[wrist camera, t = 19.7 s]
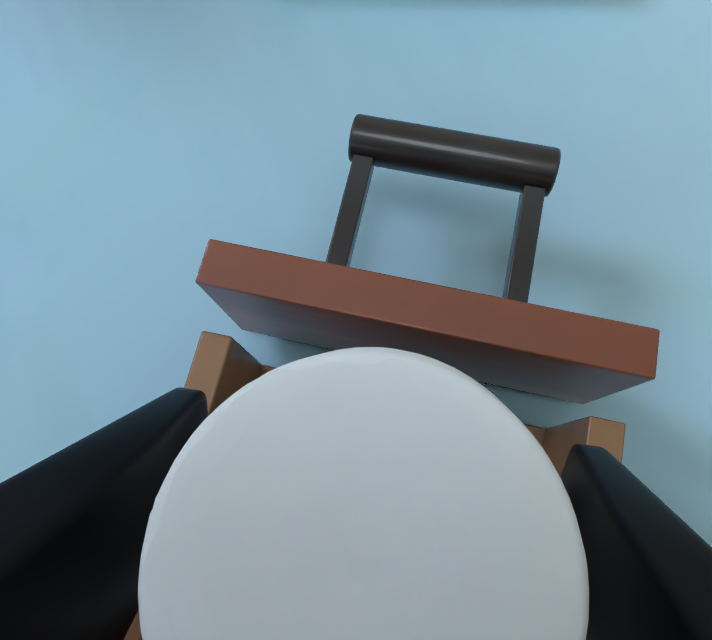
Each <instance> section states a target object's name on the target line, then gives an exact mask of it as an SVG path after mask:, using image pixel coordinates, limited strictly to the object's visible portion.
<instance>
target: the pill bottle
mask: <svg viewBox="0 0 712 640" xmlns="http://www.w3.org/2000/svg"><path fill="white" fill-rule="evenodd" d="M138 604H139V618H140V630H141V635H142V640H586V635H587V628H588V620H589V582H588V568H587V561H586V555H585V550H584V546H583V542H582V538H581V534H580V530H579V526H578V522H577V518H576V515H575V512H574V509H573V506H572V504H571V501H570V498H569V496H568V494H567V491H566V489H565V487H564V485H563V482H562V480H561V478H560V476H559V474H558V473H557V471H556V469H555V467H554V465H553V464H552V462H551V460H550V458H549V457H548V455H547V454H546V452H545V451H544V449H543V448H542V446H541V445H540V444H539V442H538V441H537V440H536V438H535V437H534V436H533V435H532V433H531V432H530V431H529V430H528V429H527V427H526V426H525V425H524V424H523V423H522V422H521V421H520V419H519V418H517V417H516V416H515V415H514V414H513V413H512V412H511V411H510V410H509V409H508V408H507V407H506V406H505V405H504V404H503V403H502V402H501V401H500V400H499V399H498V398H497V397H496V396H495V395H494V394H493V393H491V392H490V391H489V390H488V389H486V388H485V387H484V386H482V385H481V384H480V383H478V382H477V381H475V380H474V379H473V378H471V377H470V376H468V375H466V374H464V373H463V372H461V371H459V370H458V369H456V368H454V367H452V366H450V365H447V364H445V363H443V362H441V361H438V360H436V359H433V358H430V357H427V356H424V355H421V354H418V353H413V352H408V351H403V350H399V349H393V348H384V347H354V348H347V349H339V350H334V351H330V352H326V353H322V354H318V355H314V356H310V357H307V358H303V359H299V360H296V361H293V362H291V363H288V364H285V365H282V366H280V367H278V368H276V369H274V370H271V371H269V372H267V373H265V374H264V375H262V376H261V377H259V378H257V379H255V380H254V381H252V382H250V383H248V384H246V385H245V386H243V387H242V388H241V389H239V390H238V391H237V392H235V393H234V394H233V395H232V396H230V397H229V398H228V399H227V400H225V401H224V402H223V403H222V404H221V405H220V406H218V407H217V408H216V409H215V410H214V411H213V412H212V413H211V414H210V415H209V416H208V417H207V418H206V419H205V420H204V421H203V422H202V423H201V424H200V426H199V427H198V428H197V429H196V430H195V431H194V433H193V434H192V435H191V437H190V438H189V439H188V441H187V442H186V444H185V445H184V447H183V448H182V450H181V451H180V453H179V454H178V456H177V457H176V459H175V460H174V462H173V464H172V466H171V468H170V470H169V472H168V474H167V476H166V477H165V479H164V482H163V484H162V486H161V488H160V490H159V493H158V494H157V496H156V498H155V502H154V506H153V509H152V511H151V513H150V516H149V520H148V524H147V529H146V533H145V538H144V543H143V547H142V553H141V558H140V569H139V580H138Z"/></svg>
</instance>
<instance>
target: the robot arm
mask: <svg viewBox="0 0 712 640" xmlns="http://www.w3.org/2000/svg"><path fill="white" fill-rule="evenodd" d="M207 417H208V408H207V398H206V395H205V393H204V392H203V391H201V390H195V389H188V388H176V389H174V390H172V391H170V392H168V393H166V394H164V395H162V396H161V397H159V398H157V399H155V400H153V401H151V402H149V403H148V404H146V405H144V406H142V407H140V408H138V409H137V410H135V411H133V412H131V413H129V414H127V415H125V416H124V417H122V418H120V419H118V420H116V421H114V422H113V423H111V424H109V425H107V426H105V427H103V428H101V429H100V430H98V431H96V432H94V433H92V434H90V435H89V436H87V437H85V438H83V439H81V440H79V441H78V442H76V443H74V444H72V445H70V446H68V447H66V448H65V449H63V450H61V451H59V452H57V453H55V454H54V455H52V456H50V457H48V458H46V459H44V460H42V461H41V462H39V463H37V464H35V465H33V466H31V467H30V468H28V469H26V470H24V471H22V472H20V473H18V474H17V475H15V476H13V477H11V478H9V479H7V480H6V481H4V482H2V483H0V640H124V638H125V636H126V634H127V632H128V630H129V628H130V626H131V624H132V622H133V620H134V618H135V616H136V614H137V612H138V610H139V604H138V580H139V569H140V558H141V553H142V547H143V543H144V538H145V533H146V529H147V524H148V520H149V516H150V513H151V511H152V509H153V506H154V502H155V498H156V496H157V494H158V493H159V490H160V488H161V486H162V484H163V482H164V479H165V477H166V476H167V474H168V472H169V470H170V468H171V466H172V464H173V462H174V460H175V459H176V457H177V456H178V454H179V453H180V451H181V450H182V448H183V447H184V445H185V444H186V442H187V441H188V439H189V438H190V437H191V435H192V434H193V433H194V431H195V430H196V429H197V428H198V427H199V426H200V424H201V423H202V422H203V421H204V420H205V419H206V418H207ZM560 478H561V480H562V482H563V485H564V487H565V489H566V491H567V494H568V496H569V498H570V501H571V504H572V506H573V509H574V512H575V515H576V518H577V522H578V526H579V530H580V534H581V538H582V542H583V546H584V550H585V555H586V561H587V568H588V582H589V620H588V628H587V635H586V640H712V547H711V546H710V545H708V544H707V543H706V542H705V541H704V540H703V539H702V538H701V537H700V536H699V535H698V534H697V533H696V532H694V531H693V530H692V529H691V528H690V527H689V526H688V525H687V524H686V523H685V522H684V521H683V520H682V519H681V518H679V517H678V516H677V515H676V514H675V513H674V512H673V511H672V510H671V509H670V508H669V507H668V506H667V505H665V504H664V503H663V502H662V501H661V500H660V499H659V498H658V497H657V496H656V495H655V494H654V493H653V492H652V491H650V490H649V489H648V488H647V487H646V486H645V485H644V484H643V483H642V482H641V481H640V480H639V479H638V478H636V477H635V476H634V475H633V474H632V473H631V472H630V471H629V470H628V469H627V468H626V467H625V466H624V465H623V464H621V463H620V462H619V461H618V460H617V459H616V458H615V457H614V456H613V455H612V454H611V453H610V452H609V451H607V450H606V449H605V448H603V447H599V446H592V445H585V444H575V445H573V446H572V448H571V449H570V451H569V453H568V456H567V459H566V462H565V465H564V468H563V471H562V474H561V477H560Z"/></svg>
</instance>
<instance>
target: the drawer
mask: <svg viewBox="0 0 712 640" xmlns="http://www.w3.org/2000/svg"><path fill="white" fill-rule="evenodd" d="M348 156H349V160H350V161H351V162H352V164H351V168H350V172H349V175H348V179H347V183H346V187H345V190H344V194H343V198H342V202H341V206H340V209H339V213H338V217H337V221H336V225H335V228H334V232H333V236H332V240H331V243H330V247H329V251H328V255H327V259H326V262H322V261H317V260H312V259H307V258H302V257H297V256H292V255H287V254H282V253H277V252H272V251H267V250H262V249H257V248H252V247H247V246H242V245H237V244H232V243H227V242H222V241H217V240H213V239H210V240H209V241H208V244H207V247H206V250H205V253H204V257H203V260H202V263H201V266H200V269H199V272H198V275H197V278H196V283H197V284H198V285H199V286H200V287H201V288H202V289H203V290H204V291H205V292H206V293H207V294H208V295H209V296H210V297H211V298H212V299H213V300H214V301H215V302H216V303H217V304H218V305H219V306H220V308H221V309H222V310H223V311H224V312H225V313H226V314H227V315H228V316H229V317H230V318H231V319H232V320H233V321H234V322H235V323H236V324H237V325H238V326H239V327H240V328H241V329H242V330H247V331H251V332H256V333H261V334H265V335H270V336H274V337H279V338H283V339H288V340H293V341H297V342H302V343H306V344H311V345H315V346H320V347H325V348H329V349H334V350H339V349H347V348H354V347H384V348H393V349H399V350H403V351H408V352H413V353H418V354H421V355H424V356H427V357H430V358H433V359H436V360H438V361H441V362H443V363H445V364H447V365H450V366H452V367H454V368H456V369H458V370H459V371H461V372H463V373H464V374H466V375H468V376H470V377H471V378H473V379H474V380H475V381H480V382H484V383H489V384H494V385H498V386H503V387H507V388H512V389H516V390H521V391H525V392H530V393H535V394H539V395H544V396H548V397H553V398H557V399H562V400H567V401H571V402H576V403H580V404H585V403H588V402H590V401H593V400H596V399H599V398H602V397H605V396H608V395H610V394H613V393H616V392H619V391H622V390H625V389H628V388H630V387H633V386H636V385H639V384H642V383H645V382H648V381H650V380H653V379H655V376H656V365H657V354H658V343H659V332H660V331H659V330H658V329H654V328H649V327H644V326H639V325H634V324H629V323H624V322H619V321H614V320H609V319H604V318H599V317H594V316H589V315H584V314H579V313H574V312H569V311H564V310H559V309H554V308H549V307H545V306H540V305H535V304H530V303H527V302H528V296H529V289H530V283H531V277H532V270H533V264H534V258H535V251H536V245H537V239H538V233H539V226H540V220H541V214H542V207H543V201H544V197H546V196H548V195H549V193H550V192H551V190H552V188H553V185H554V183H555V180H556V177H557V173H558V169H559V164H560V157H561V153H560V149H559V148H555V147H549V146H543V145H538V144H532V143H526V142H520V141H514V140H508V139H503V138H497V137H491V136H485V135H479V134H473V133H467V132H462V131H456V130H450V129H444V128H438V127H432V126H426V125H421V124H415V123H409V122H403V121H397V120H391V119H385V118H380V117H374V116H368V115H362V114H357V115H356V117H355V119H354V121H353V124H352V128H351V133H350V139H349V148H348ZM374 166H376V167H382V168H387V169H393V170H398V171H404V172H410V173H415V174H421V175H426V176H432V177H437V178H443V179H448V180H454V181H459V182H465V183H470V184H476V185H481V186H487V187H493V188H498V189H504V190H509V191H515V192H520V193H521V194H520V197H519V203H518V209H517V215H516V220H515V226H514V232H513V238H512V244H511V250H510V255H509V261H508V267H507V273H506V279H505V285H504V290H503V296H502V298H500V297H495V296H490V295H485V294H480V293H475V292H470V291H465V290H460V289H455V288H450V287H445V286H440V285H436V284H431V283H426V282H421V281H416V280H411V279H406V278H401V277H396V276H391V275H386V274H381V273H376V272H371V271H366V270H361V269H356V268H351V267H349V265H350V261H351V257H352V253H353V249H354V245H355V241H356V237H357V233H358V229H359V225H360V221H361V217H362V213H363V209H364V205H365V201H366V197H367V193H368V189H369V185H370V182H371V178H372V174H373V170H374ZM274 369H276V368H275V367H270V366H266V365H262V364H261V363H259V362H258V361H257V360H256V359H255V358H254V357H253V356H252V355H251V354H250V353H248V352H247V351H246V350H245V349H244V348H243V347H242V346H241V345H240V344H238V343H237V342H236V341H235V340H234V339H233V338H232V337H230V336H225V335H221V334H216V333H212V332H207V331H203V332H202V333H201V336H200V339H199V342H198V346H197V349H196V352H195V355H194V358H193V361H192V365H191V368H190V371H189V374H188V377H187V380H186V384H185V387H184V388H188V389H195V390H201V391H203V392H204V393H205V395H206V398H207V408H208V416H209V415H210V414H211V413H212V412H213V411H214V410H215V409H216V408H217V407H218V406H220V405H221V404H222V403H223V402H224V401H225V400H227V399H228V398H229V397H230V396H232V395H233V394H234V393H235V392H237V391H238V390H239V389H241V388H242V387H243V386H245V385H246V384H248V383H250V382H252V381H254V380H255V379H257V378H259V377H261V376H262V375H264V374H265V373H267V372H269V371H271V370H274ZM524 425H525V426H526V427H527V429H528V430H529V431H530V432H531V433H532V435H533V436H534V437H535V438H536V440H537V441H538V442H539V444H540V445H541V446H542V448H543V449H544V451H545V452H546V454H547V455H548V457H549V458H550V460H551V462H552V464H553V465H554V467H555V469H556V471H557V473H558V474H559V476H560V477H561V474H562V471H563V468H564V465H565V462H566V459H567V456H568V453H569V451H570V449H571V448H572V446H573V445H575V444H585V445H592V446H599V447H603V448H605V449H606V450H607V451H609V452H610V453H611V454H612V455H613V456H614V457H615V458H616V459H617V460H618V461H619V462H620V463H621V464H622V454H623V444H624V435H625V424H624V423H620V422H616V421H611V420H606V419H602V418H597V417H593V416H589V417H586V418H582V419H579V420H575V421H572V422H568V423H564V424H561V425H557V426H554V427H550V428H546V429H545V428H541V427H537V426H532V425H528V424H524ZM124 640H142V635H141V630H140V618H139V610H138V612H137V614H136V616H135V618H134V620H133V622H132V624H131V626H130V628H129V630H128V632H127V634H126V636H125V638H124Z"/></svg>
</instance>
